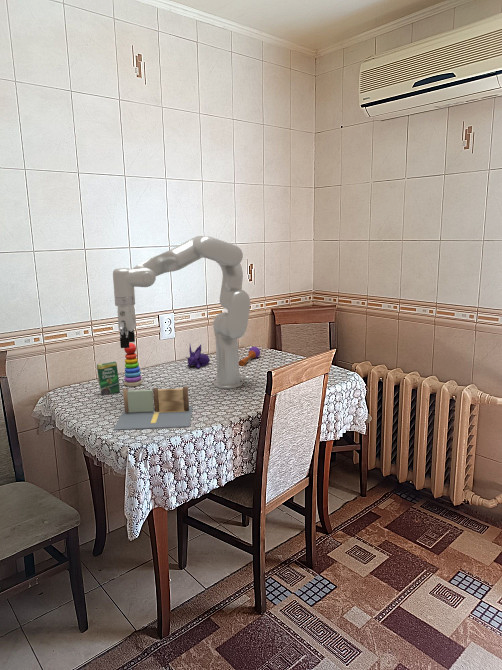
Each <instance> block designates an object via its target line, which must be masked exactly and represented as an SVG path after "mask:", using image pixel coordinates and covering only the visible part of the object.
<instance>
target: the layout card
mask: <svg viewBox="0 0 502 670" xmlns="http://www.w3.org/2000/svg"><path fill="white" fill-rule="evenodd" d="M193 407H194V406H192V405H191V406H190V405H189V411H168V412H155V409H154V411H145V412H128V413H125V408H124V409H123V410H122V413H121V414H120V416H119V418H118V420H117V422H116V423H115V426H114V428H113V429H112V430H113V431H128V430H129V431H132V430H152V429H153V430H154V429H156V430H157V429H175V428H176V429H177V428H179V429H180V428H190V425H191V420H192V415H193V409H194V408H193Z"/></svg>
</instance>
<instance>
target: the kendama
mask: <svg viewBox="0 0 502 670" xmlns="http://www.w3.org/2000/svg"><path fill="white" fill-rule="evenodd" d="M260 354H261V350H260V348H259V347H257V346H251V347H250V348H249V350H248V353H247V356H246V357H244V358H241V359H239V367H244V366H245V365H246V364H247V362H248V361H249V360H250V359H256V358H259V356H260Z"/></svg>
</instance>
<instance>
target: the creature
mask: <svg viewBox="0 0 502 670" xmlns="http://www.w3.org/2000/svg"><path fill="white" fill-rule="evenodd" d="M188 352H189V357H187V356H185V358H186V359H187V363H188V364H186V367H188V368H189V367H192V366H194V367H195V368H196V369H200V368H201V367H204V366H206V365H208V364H209V363H210V360H211V359H210V356H209V355H208V354H206V353H204V352H203V353H202V344H200V345H199V346H198V347H197V348H196V349H195V350H194V351H193V350H192V347H191V344H189V351H188Z"/></svg>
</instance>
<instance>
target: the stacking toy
mask: <svg viewBox="0 0 502 670" xmlns="http://www.w3.org/2000/svg"><path fill="white" fill-rule="evenodd" d="M123 350H124V352H125V353H126V354H125V355H124V357H125V359H124V367H125V368H124V382H123V384H124V386H127V387H137V386H141V385H142V384H143V379H142V378H143V377H142V375H141V374H142V371H141V370H140V369H141V368H140V365H139V361H138V358H137V356H138V355H137V353H136V351H137V346H136V344H134V342H129V348H123Z"/></svg>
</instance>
